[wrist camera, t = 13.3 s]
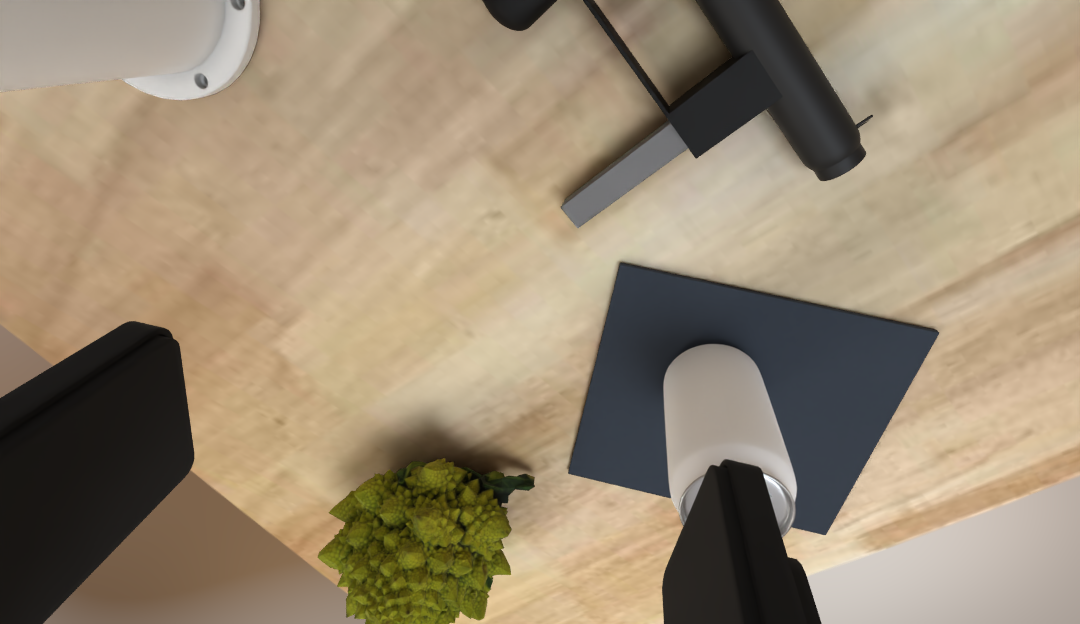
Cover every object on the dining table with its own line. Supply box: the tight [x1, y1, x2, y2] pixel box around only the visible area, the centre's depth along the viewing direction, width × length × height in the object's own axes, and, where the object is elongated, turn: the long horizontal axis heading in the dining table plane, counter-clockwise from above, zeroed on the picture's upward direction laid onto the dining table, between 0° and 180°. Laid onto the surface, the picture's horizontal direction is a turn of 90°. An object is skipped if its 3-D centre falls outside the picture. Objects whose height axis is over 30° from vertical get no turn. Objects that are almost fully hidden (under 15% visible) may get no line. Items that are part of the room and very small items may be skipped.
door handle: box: [483, 0, 873, 228], centre depth 31 cm, size 3×20×16 cm
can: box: [663, 344, 797, 537], centre depth 34 cm, size 6×6×12 cm
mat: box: [568, 263, 939, 535], centre depth 41 cm, size 20×18×1 cm
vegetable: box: [317, 458, 535, 624], centre depth 45 cm, size 15×16×15 cm
